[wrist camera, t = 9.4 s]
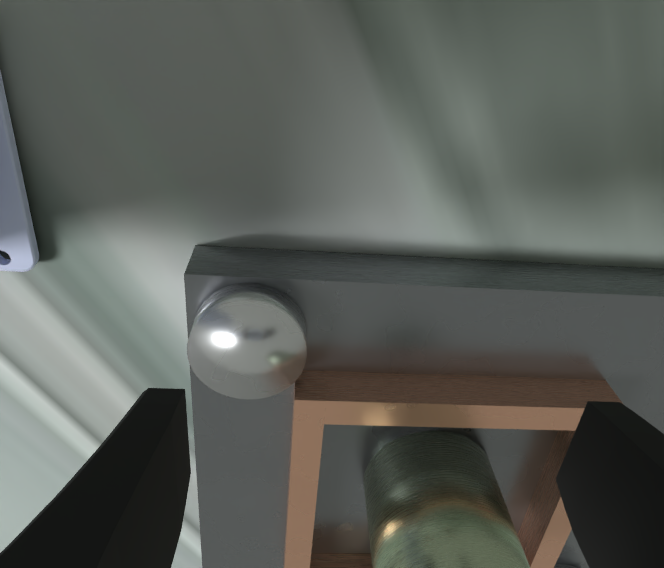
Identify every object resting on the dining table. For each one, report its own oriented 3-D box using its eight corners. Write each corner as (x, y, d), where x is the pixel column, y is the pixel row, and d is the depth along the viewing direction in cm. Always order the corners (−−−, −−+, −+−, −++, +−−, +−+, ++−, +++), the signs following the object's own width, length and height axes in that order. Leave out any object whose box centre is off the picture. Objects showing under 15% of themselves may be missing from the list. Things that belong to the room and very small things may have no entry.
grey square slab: (211, 571, 27) (199, 647, 24) (195, 245, 18) (173, 300, 15) (559, 572, 28) (590, 643, 25) (703, 271, 19) (777, 326, 16)
